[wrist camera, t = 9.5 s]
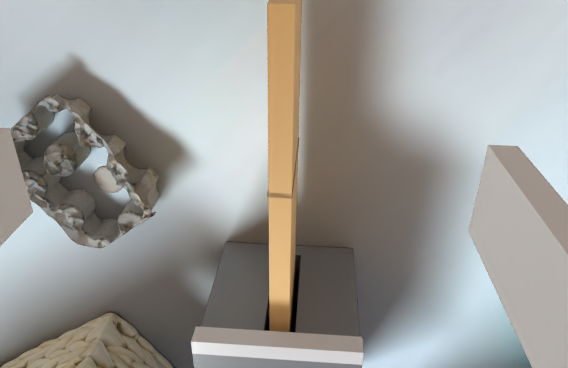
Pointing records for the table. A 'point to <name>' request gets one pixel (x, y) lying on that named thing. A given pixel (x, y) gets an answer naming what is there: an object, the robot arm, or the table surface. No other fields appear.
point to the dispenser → (305, 316)
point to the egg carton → (66, 159)
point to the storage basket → (94, 348)
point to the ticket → (283, 154)
